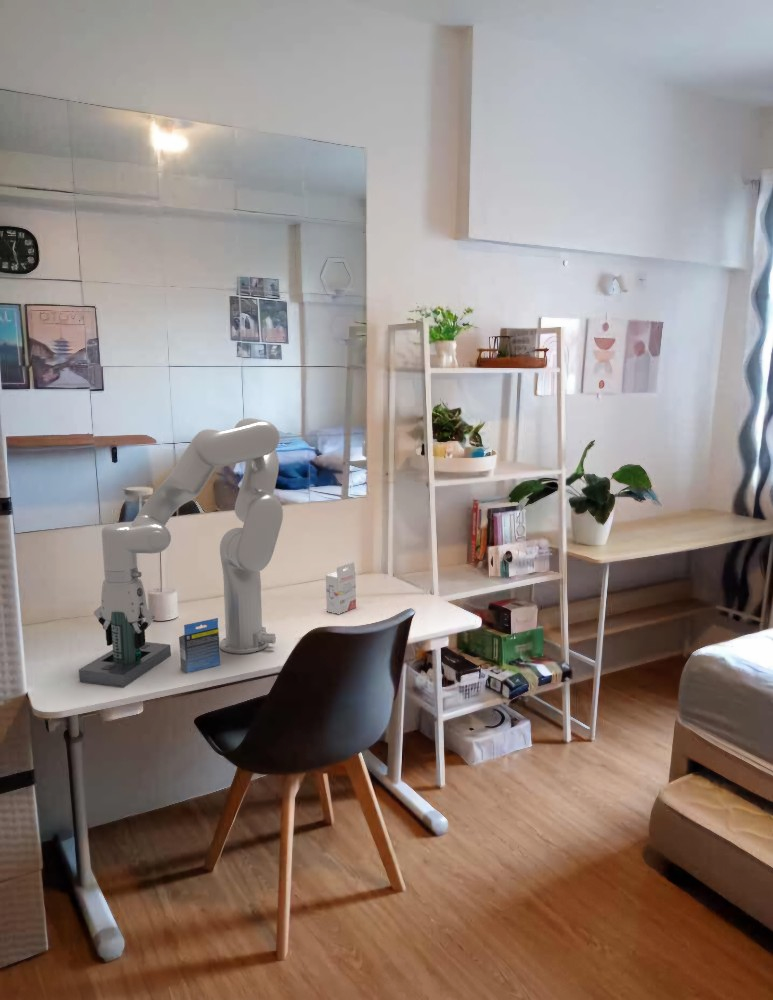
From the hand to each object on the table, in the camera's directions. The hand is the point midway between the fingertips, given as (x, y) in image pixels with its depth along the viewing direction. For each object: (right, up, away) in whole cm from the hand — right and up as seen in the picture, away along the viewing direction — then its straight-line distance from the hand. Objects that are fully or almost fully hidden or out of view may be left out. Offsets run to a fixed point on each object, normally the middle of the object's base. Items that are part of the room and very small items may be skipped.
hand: (126, 644), depth 184 cm
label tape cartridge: (+18, -6, +2) cm, 19 cm away
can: (0, -6, +1) cm, 6 cm away
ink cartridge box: (+50, +2, +45) cm, 67 cm away
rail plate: (0, -6, +1) cm, 6 cm away
